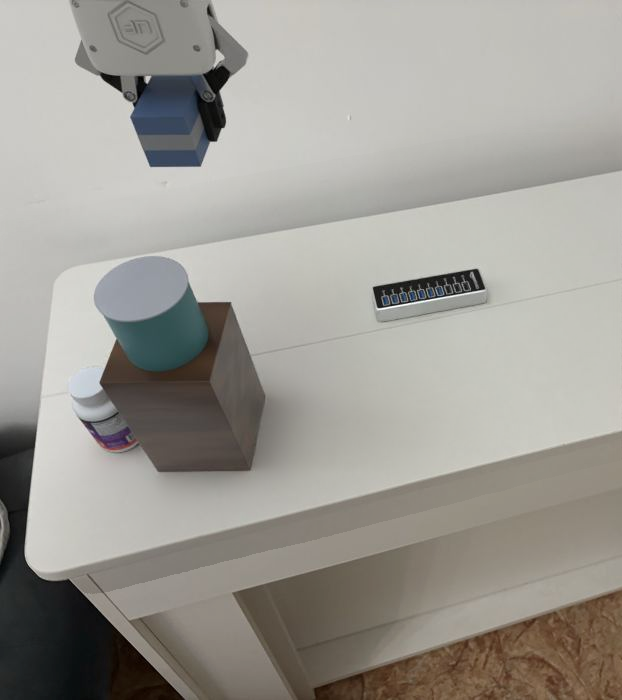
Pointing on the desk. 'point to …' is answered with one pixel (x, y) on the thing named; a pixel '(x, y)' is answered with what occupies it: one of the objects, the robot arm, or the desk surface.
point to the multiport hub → (429, 294)
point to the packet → (170, 123)
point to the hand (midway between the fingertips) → (187, 131)
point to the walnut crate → (193, 401)
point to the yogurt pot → (152, 312)
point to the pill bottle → (99, 411)
